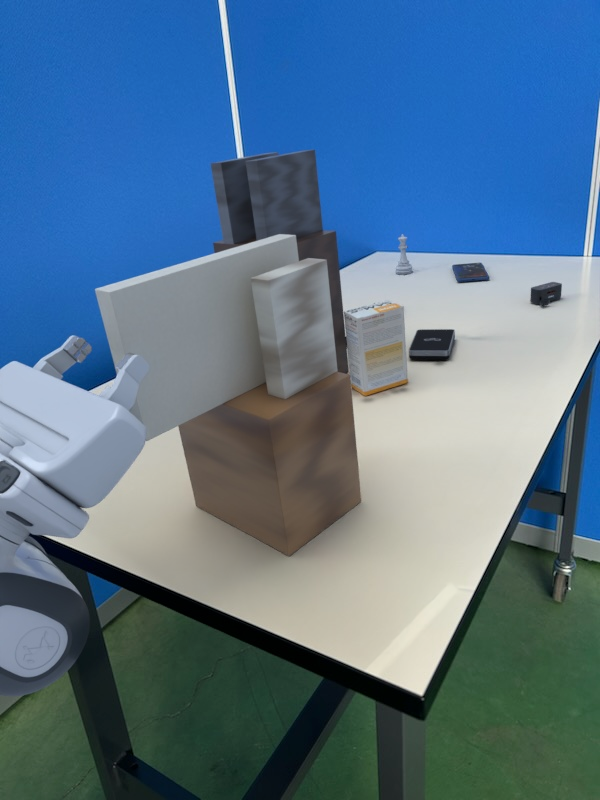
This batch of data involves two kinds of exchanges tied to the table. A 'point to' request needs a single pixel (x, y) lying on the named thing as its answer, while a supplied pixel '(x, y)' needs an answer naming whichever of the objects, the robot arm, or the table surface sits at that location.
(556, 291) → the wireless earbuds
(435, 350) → the external hard drive
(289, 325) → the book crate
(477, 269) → the smartphone
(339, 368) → the bookstand
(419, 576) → the table surface
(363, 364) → the supplement box
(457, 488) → the table surface
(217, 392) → the white book
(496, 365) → the table surface
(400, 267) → the chess piece
